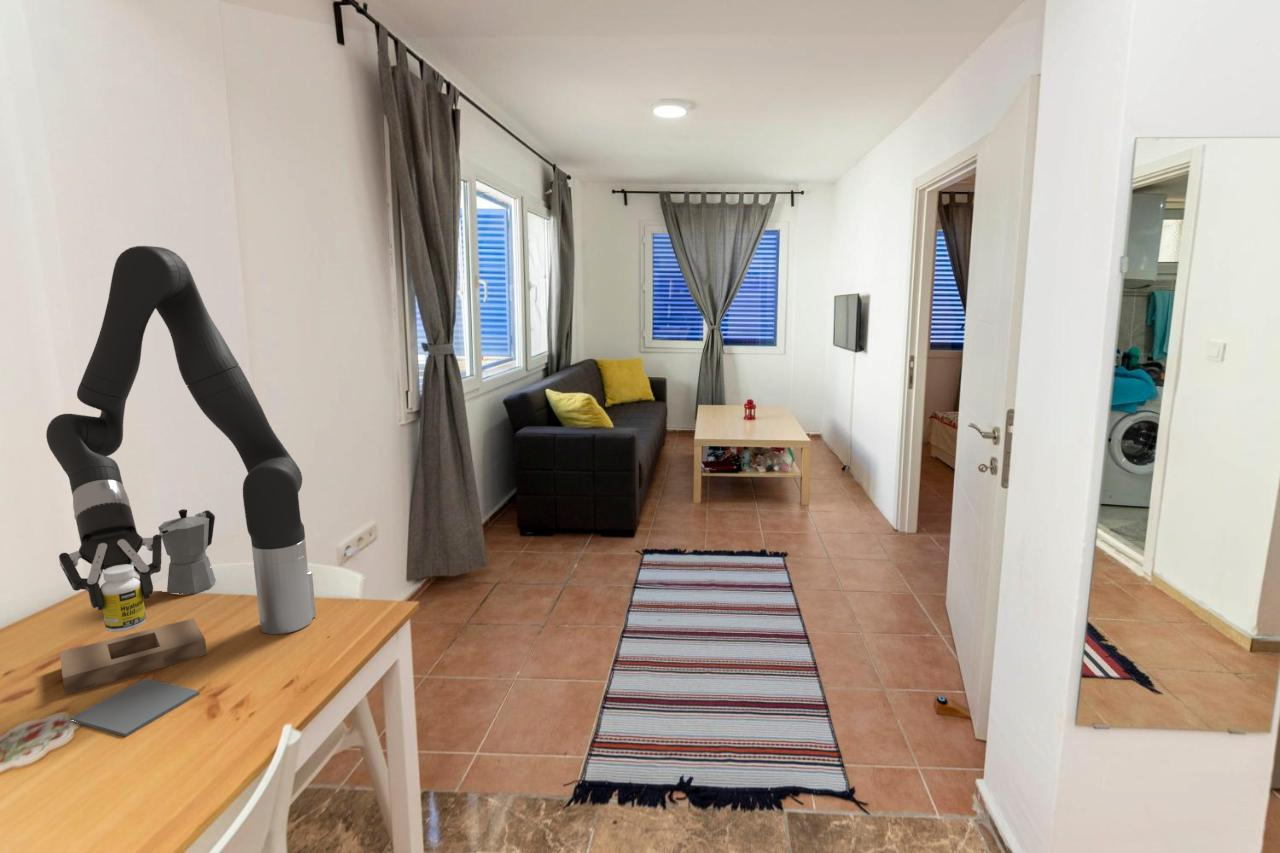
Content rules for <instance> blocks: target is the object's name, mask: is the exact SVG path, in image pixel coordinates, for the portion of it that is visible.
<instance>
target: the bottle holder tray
mask: <svg viewBox="0 0 1280 853" xmlns="http://www.w3.org/2000/svg"><path fill="white" fill-rule="evenodd" d="M206 645H207V644H206V638H205V635H203V633H202V631H201V629H200V627H199V625H198V623H197V622H196V620H195V618H194V617H192V618H188V619H185V620H182V621H177V622H173V623H169V624H165V625H161V626H157V627H154V628H150V629H146V630H142V631H138V632H137V631H136V632H134V633H130V634H129V633H128V634H125V635H122V636H118V637H114V638H110V639H106V640H102V641H98V642H95V643H94V642H93V643H89V644H87V645H81V646H79V647H75V648H71V649H67V650H62V651H59V658H60V659H59V660H60V666H61V675H62V681H63V688H64V692H65V693H64V694H65V696H67V695H71V694H73V693H77V692H80V691H84V690H87V689H92V688H94V687H95V688H96V687H99V686H101V685H104V684H108V683H112V682H115V681H119V680H122V679H126V678H130V677H133V676H137V675H140V674H143V673H146V672H151V671H153V670H157V669H160V668H165V667H168V666H170V665H171V666H172V665H175V664H178V663H181V662H182V663H183V662H185V661H189V660H192V659H196V658H199V657H202V656H206V655H207V654H208V652H207V651H208V650H207V646H206Z"/></svg>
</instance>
